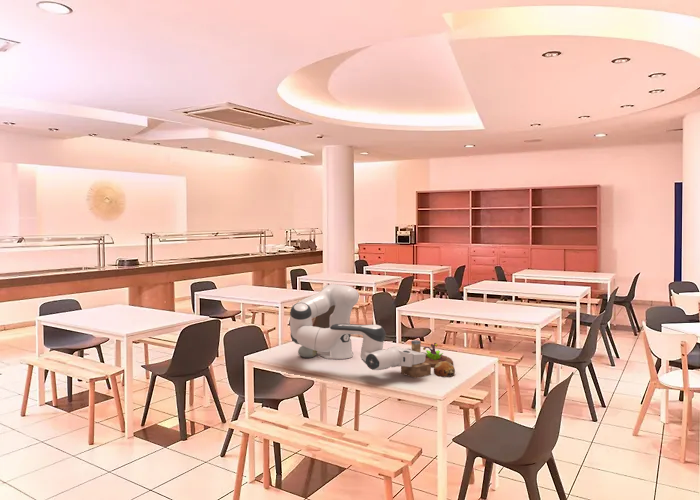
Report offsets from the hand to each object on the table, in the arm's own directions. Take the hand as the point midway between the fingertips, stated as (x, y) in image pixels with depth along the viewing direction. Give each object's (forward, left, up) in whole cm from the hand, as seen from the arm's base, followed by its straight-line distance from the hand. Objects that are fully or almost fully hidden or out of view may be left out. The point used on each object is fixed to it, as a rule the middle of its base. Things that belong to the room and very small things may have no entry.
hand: (417, 352), depth 248 cm
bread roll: (+9, +10, -11) cm, 17 cm away
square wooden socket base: (0, -1, -10) cm, 11 cm away
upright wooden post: (0, -1, -10) cm, 11 cm away
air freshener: (-60, -22, -11) cm, 65 cm away
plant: (-9, +22, -11) cm, 26 cm away
